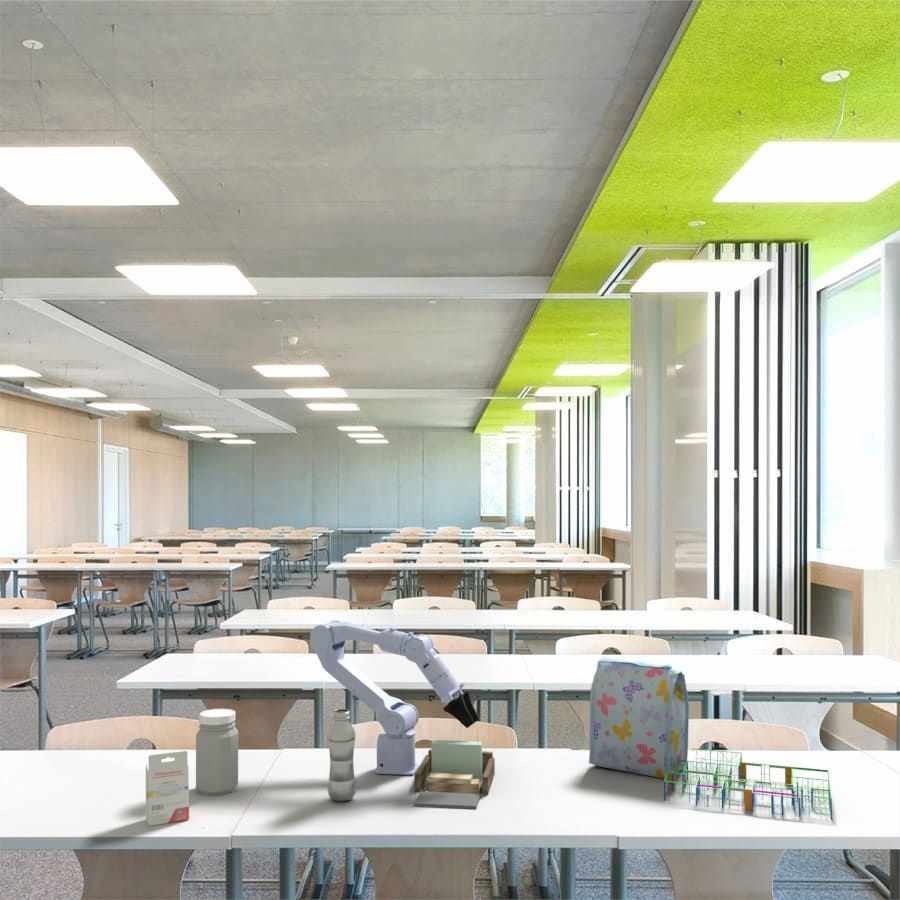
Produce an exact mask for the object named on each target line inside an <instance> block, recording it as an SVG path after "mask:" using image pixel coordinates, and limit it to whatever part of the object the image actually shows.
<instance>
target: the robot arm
mask: <svg viewBox="0 0 900 900" xmlns="http://www.w3.org/2000/svg"><path fill="white" fill-rule="evenodd" d="M309 640H310V642H309V643H310V649H312V650H313V651H314V652H315V654H316V656H317V658H318V660H319V662H320V665H321V666H322V668H323V670H324V671H326V672H327V673H328V674H329V675H330V676H331V677H333V678H334V679H335V680H336V681H337V682H338V683H340V684H341V685H342V686H343V687H344V688H346V690H348V691H349V692H351V694H353V695H354V696H355V697H356V698H357V699H358V700H360V701H361V702H362V703H364V705H366V706H367V707H368V708H369V709H371V711H373V712H375V719H376V721H377V722H378V723H379V724H380V725H381V726H382V729H383V731H384V732H385V733H380V734H378V736H377V741H376V771H375V773H376V774H378V775H380V774H381V775H405V776H410V775H411V776H414V774H415V773H416V771H417V769H418V768H419V766H420V764H419V763H416V731H415V727H416V726H417V724H418V722H419V717H420V715H419V712H418V709H417V708H416V706H414V705H413V704H412V703H406V702H404V701H403V700H402V699H400V698H397V697H394V696H391V695H389V694H388V693H387V692H385V690H383V689H382V688H381V687H379V685H377V684H376V683H375V682H374V681H372V680H371V679H370V678H368V677H367V676H366V675H365V674H364V673H362V671H360V670H359V669H358V668H357V667H355V666H354V665H353V664H352V663H351V662H349V661H348V660H347V659H346V658H345V652H344V651H345V647H346V642H347V641H348V640H351V641H355V642H361V643H367V644H371V645H377V646H378V647H379V649H380V650H381V652H385V653H390V654H392V655H398V656H402V657H405V658H406V659H407V660H408V661H410V662H411V663H415V665H416V666H417V667H418V669H419V671H420V672H421V673H422V674H423V676H424V677H425V679H426V680H427V682H428V683H429V685H431V687H432V688H433V691H435V693H436V694H437V695H438V697H439V698H440V701H441V703H445V707H443V708H442V710H443V711H444V712H446V713H448V714H450V715H451V716H452V717H454V718H455V719H456V720H458V722H459V723H461V725H462V726H463V727H465V728H466V729H468V728H470V727H471V726H472V725H474V724H475V723H477V722H478V721H479V720H480V717H479V715H478V713H477V711H476V709H475V707H474V704H473V702H472V698H471V692H470V691H469V690H467V691H465V692H463V691H462V689H463V687H465V686H466V683H465V682H462V683H460V684H459V682H458V680H457V679H456V678H455V676H454V675H453V673H451V671H450V669H449V668H448V666H446V664H445V663H444V661H443V660H442V659H441V657H440V656H439V654H437V652H436V651H435V649H434V643H433V640H432V639H431V638H430V636H428V635H426V634H424V633H419V634H417V635H414V632H413V631H409V632H404V631H401V630H400V631H399V630H397V627H393V626H391V627H389V628H385V629H384V630H383V631H378V630H375V629H373V628H368V627H365V626H361V625H358V624H354V623H350V622H348V621H340V620H338V619H337V620H332V621H330V622H327V623H324V624H319V625H316V626H314V627H313V628H312V630H311V631H310V635H309Z"/></svg>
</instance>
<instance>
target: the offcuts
mask: <svg viewBox="0 0 900 900" xmlns="http://www.w3.org/2000/svg"><path fill="white" fill-rule="evenodd" d="M424 791H431V792H433V791H434V792H443V793H467V794H481V791H482V783H479V779H473V775H470V774H452V773H434V772H430V774H429V776H428V778H427V781H426V782H425V785H424V787H423V792H424Z"/></svg>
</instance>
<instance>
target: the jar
mask: <svg viewBox="0 0 900 900" xmlns="http://www.w3.org/2000/svg"><path fill="white" fill-rule="evenodd" d="M235 720H236V711H235V710H234V709H230V708H213V709H212V708H211V709H206V710H204V711H201V712H200V713H199V714H198V721H199V722H198V723H199V724H200V725H199V726H198V728H199V729H198V731H197V733H196V735H195V789H196V790H197V791H198V792H199V794H202V795H205V796H210V797H211V796H222V795H226V794H227V795H228V794H229V793H231V792H234V791H235V789H236V788H237V787H238V784H239V730H238V729H237V728H236V727H235V726H236V722H235Z"/></svg>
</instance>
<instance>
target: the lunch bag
mask: <svg viewBox="0 0 900 900" xmlns="http://www.w3.org/2000/svg"><path fill="white" fill-rule="evenodd" d="M596 666H597V667H596V671H595V673H594V675H593V679H592V683H591V687H590V694H589V695H590V697H589V698H590V699H589V755H588V756H589V757H588V758H589V759H588V763H589V764H590V765H594V766H597V767H599V768H600V767H601V768H607V769H610V770H617V771H621V772H627V773H632V774H637V775H644V776H649V777H653V778H660V779H665V777H666V775H667V773H668V772H673V770H674V772H675V769H674V767H675V765H676V763H677V765H676V773H678V762H677V760H684V761H688V755H689V753H688V751H689V750H688V748H689V723H690V722H689V713H690V712H689V711H690V710H689V709H690V705H689V693H688V689H687V685H686V677H685V674H684V673H683V671H682V670H677V669H675V668H673V665H672V664H658V663H657V664H656V663H651V662H645V661H640V660H639V661H630V660H627V659H626V660H625V659H621V658H619V659H618V658H610V657H602V658H599V660H598V661H597V665H596ZM686 763H687V762H682V761H679V771H681V770H684V768H685V765H686Z"/></svg>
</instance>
